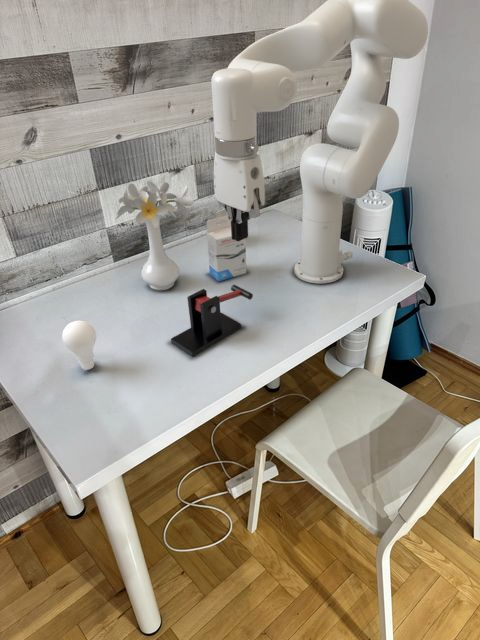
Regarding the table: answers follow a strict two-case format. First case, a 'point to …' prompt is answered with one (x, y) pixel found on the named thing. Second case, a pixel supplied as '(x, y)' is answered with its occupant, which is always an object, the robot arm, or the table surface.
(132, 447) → the table surface
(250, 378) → the table surface
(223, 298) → the red lever handle
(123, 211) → the flower vase
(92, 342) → the lightbulb
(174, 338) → the black lever base
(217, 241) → the ink box
